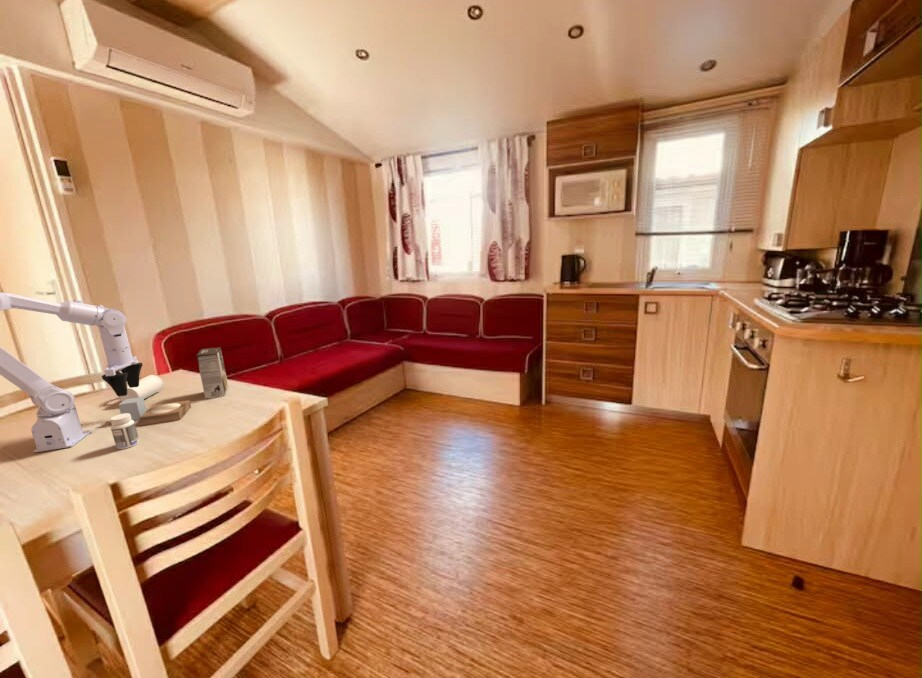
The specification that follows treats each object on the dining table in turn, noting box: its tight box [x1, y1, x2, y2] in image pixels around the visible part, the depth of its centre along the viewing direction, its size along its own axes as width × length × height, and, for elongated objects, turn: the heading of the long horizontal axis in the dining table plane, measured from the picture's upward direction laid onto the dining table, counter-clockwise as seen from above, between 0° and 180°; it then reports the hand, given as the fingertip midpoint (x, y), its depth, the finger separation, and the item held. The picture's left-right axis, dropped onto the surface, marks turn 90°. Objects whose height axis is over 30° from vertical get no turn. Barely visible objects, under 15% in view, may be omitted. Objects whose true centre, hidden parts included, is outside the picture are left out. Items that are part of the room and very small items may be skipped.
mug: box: [118, 374, 164, 402], centre depth 131 cm, size 10×7×12 cm
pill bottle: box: [110, 413, 140, 450], centre depth 99 cm, size 5×5×8 cm
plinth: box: [139, 399, 192, 426], centre depth 117 cm, size 10×10×3 cm
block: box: [118, 397, 148, 422], centre depth 116 cm, size 4×4×6 cm
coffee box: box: [196, 346, 229, 400], centre depth 133 cm, size 9×6×16 cm
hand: (128, 391), depth 114 cm, fingers open, 7 cm apart
